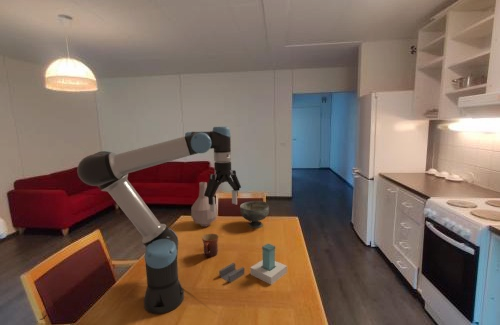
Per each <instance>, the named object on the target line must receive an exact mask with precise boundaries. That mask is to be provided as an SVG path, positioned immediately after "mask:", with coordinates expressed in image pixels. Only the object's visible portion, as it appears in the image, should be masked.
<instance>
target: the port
mask: <svg viewBox="0 0 500 325" xmlns="http://www.w3.org/2000/svg"><path fill="white" fill-rule="evenodd" d="M249 270H250V273H249V274H250V276H252V277H255V278H257V279H259V280H261V281H263V282H265V283H267V284H269V285H274V284H275V283H276V282H277V281H278V280H279V279H281V278H282V277H284V276H285V275H286V274H287V273H288V265H286V264H284V263H281V262H279V261H276V260H275V268H274V269H272V270H271V271H268V270H266V269H264V268H263V259H262V260H260V261H258V262H257V263H255V264H253V265H252V266H250V268H249Z"/></svg>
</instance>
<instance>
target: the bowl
mask: <svg viewBox="0 0 500 325" xmlns="http://www.w3.org/2000/svg"><path fill="white" fill-rule="evenodd" d="M269 207H270V206H269V203H268V202H266V201H263V200H251V201H246V202H244V203H241V204H240V206H239V208H240V214H241V216H242V218H244V219H245V220H246V221H248V224H247V226H248V227H249V228H252V229H259V228H262V227H263V226H264V224H263V222H261V221H263V220H265V219H266V218H267V217H268V215H269V213H270V212H269V211H270V208H269Z"/></svg>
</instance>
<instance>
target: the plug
mask: <svg viewBox="0 0 500 325" xmlns="http://www.w3.org/2000/svg"><path fill="white" fill-rule="evenodd" d="M261 249H262V260H263V268H264V269H266V270H268V271H271V270H272V269H274V268H275V261H276V246H275V245H273V244H271V243H267V244H264V245H263V246H261Z"/></svg>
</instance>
